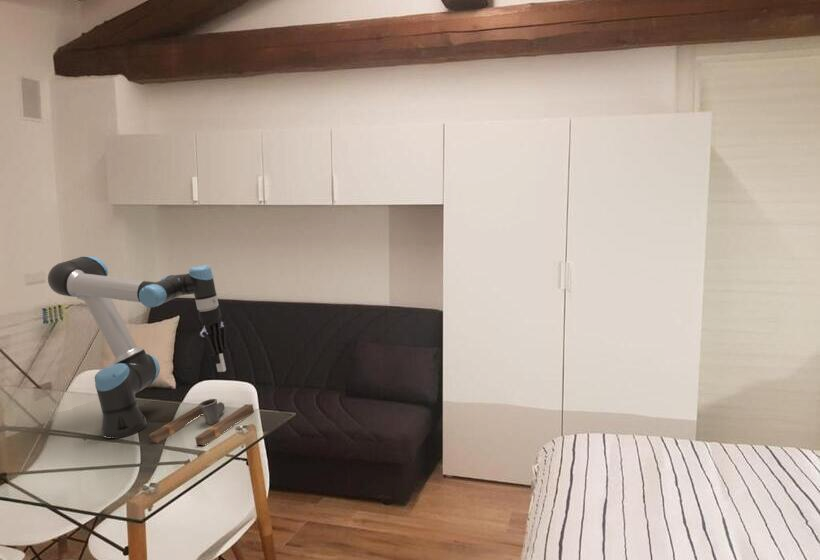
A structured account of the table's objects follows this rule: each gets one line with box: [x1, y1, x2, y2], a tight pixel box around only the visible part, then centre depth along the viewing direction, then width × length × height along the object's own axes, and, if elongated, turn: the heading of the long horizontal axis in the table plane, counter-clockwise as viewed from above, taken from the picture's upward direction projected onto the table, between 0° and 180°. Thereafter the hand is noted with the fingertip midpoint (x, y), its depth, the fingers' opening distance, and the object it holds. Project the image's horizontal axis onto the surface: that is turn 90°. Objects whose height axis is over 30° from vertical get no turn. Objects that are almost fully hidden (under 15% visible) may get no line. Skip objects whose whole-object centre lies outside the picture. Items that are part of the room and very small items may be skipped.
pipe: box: [198, 398, 226, 426], centre depth 237 cm, size 6×13×8 cm, turn 174°
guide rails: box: [149, 403, 255, 446], centre depth 232 cm, size 23×27×3 cm
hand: (221, 370), depth 242 cm, fingers closed
